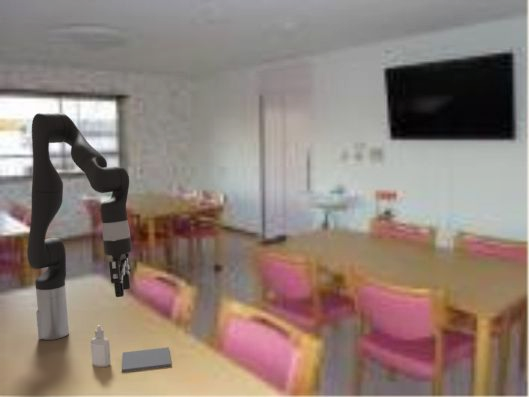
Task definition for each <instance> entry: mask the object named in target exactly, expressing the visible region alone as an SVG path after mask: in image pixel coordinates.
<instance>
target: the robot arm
mask: <svg viewBox="0 0 529 397" xmlns="http://www.w3.org/2000/svg"><path fill="white" fill-rule="evenodd" d="M31 143H32V145H31V146H32V147H31V148H32V181H31V182H32V183H31V210H30V211H31V215H30V227H29V234H28V241H27V250H26V253H27V254H26V255H27V262H28V264H29V266H30V267H31V268H32V269H33V270H40V269H46V268H47V269H46V270H45V271H44V272H43V273H42V274H41V275H39V276H38V277H37V278H36V279H35V281H34V282H35V285H34V286H35V295H36V308H37V310H36V313H35V314H36V324H37V325H36V326H37V335H38V336H37V337H38V338H37V339H38V340H45V341H53V340H58V339H61V338H64V337H66V336H68V335H69V333H70V330H69V317H68V316H69V315H68V304H67V292H66V277H67V263H66V262H67V261H66V260H67V257H66V256H67V254H66V247H65V244H64V242H63V240H62V239H61V238H59V237H50V238H46V236H47V232H48V228H49V226H50V224H51V223H52V221H53V220H54V218H55V217H56V215H57V214H58V212H59V210H60V209H61V207H62V204H63V195H64V194H63V193H64V182H63V180H62V177H61V176H60V174H59V172H58V171H57V169H56V168H55V167H54V164H53V163H52V159H51V157H50V148H49V147H50V144H57V143H65V144H67V145H69V146H70V156H71V160H72V161H73V163H74V164H75V165H76V166H77V167H78V168H79V169H80V170H81V171H82V172H83V173H84V174H85V176H86V178H87V180H88V182H89V184H90V187H91V188H92V189H93V190H94V191H95V192H97V193H100V194H104V193H105V194H106V193H111V195H110V196H111V197H110V198H109V199H108V200H106V201H104V202H102V203H101V204H100V216H101V225H102V226H101V227H102V228H101V232H102V233H101V234H102V241H103V249H104V250H103V251H104V254H105V256H107V257H108V256H111V257H112V259H111V261H109V262H108V265H109V274H110V283H111V284H113V285H114V295H115V298H122V297H124V295H125V290H129V289H131V283H130V282H131V281H130V275H131V271H132V270H131V264H130V263H131V262H130V254H131V252H132V251H133V247H132V246H133V245H132V238H131V230H130V225H129V221H128V213H127V212H128V211H127V201H128V195H129V187H130V177H129V172H127V170H126V169H125V168H124V167H122V166H108V162H107V160H106V158H105V157H104V156H103V155H102V154H101V153H100V152H98V151H97V150H96V149H95V147H93V146H92V145H91V144H90V143H89V142H88V141H87V140H86V138H85V136H84V135H83V134H82V132H81V131H80V130H79V127H77V125H76V124H75V123H74V121H73V120H72V119H71V118H70V116H68V115H67V114H66V113H61V112H38V113H36V114H35V115H34V117H32V122H31Z"/></svg>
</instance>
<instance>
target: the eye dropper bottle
mask: <svg viewBox="0 0 529 397" xmlns="http://www.w3.org/2000/svg"><path fill="white" fill-rule="evenodd" d="M104 332H105V331H104V329H103V328H102V327H101V325H100V324H99V325H97V328H96V329H95V330H94V336H95V337H93V338H92V339H91V340H90V350H91V352H90V354H91V364H92V365H93V366H95V367H99V368H106V367H109V366H110V365H111V362H112V361H111V349H110V348H111V347H110V346H111V345H110V340H109V339H108V338H107V337H106V336H105V334H104Z"/></svg>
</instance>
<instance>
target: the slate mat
mask: <svg viewBox="0 0 529 397" xmlns="http://www.w3.org/2000/svg"><path fill="white" fill-rule="evenodd" d="M170 355H171V354H170V347H159V348H150V349H141V350H132V351H125V352H122V355H121V356H122V357H121V358H122V359H121V373H126V371H128V372H134V371H135V370H136V371H144V370H151V369H152V368H153V369H160V367H161V368H168V367H169V368H170V367H172V360H171V356H170ZM143 369H144V370H143Z"/></svg>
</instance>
